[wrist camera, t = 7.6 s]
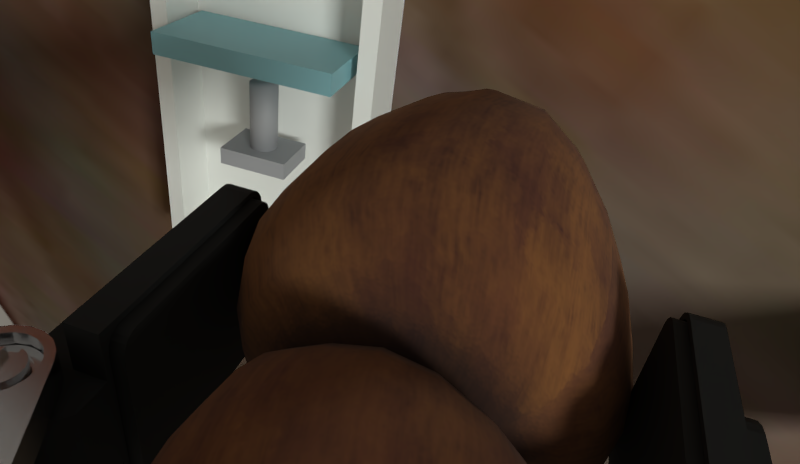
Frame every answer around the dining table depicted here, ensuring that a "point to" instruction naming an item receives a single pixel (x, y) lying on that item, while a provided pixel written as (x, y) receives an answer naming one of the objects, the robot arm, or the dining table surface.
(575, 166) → the wooden figurine
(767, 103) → the dining table surface
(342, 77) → the pusher paddle
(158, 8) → the lane
